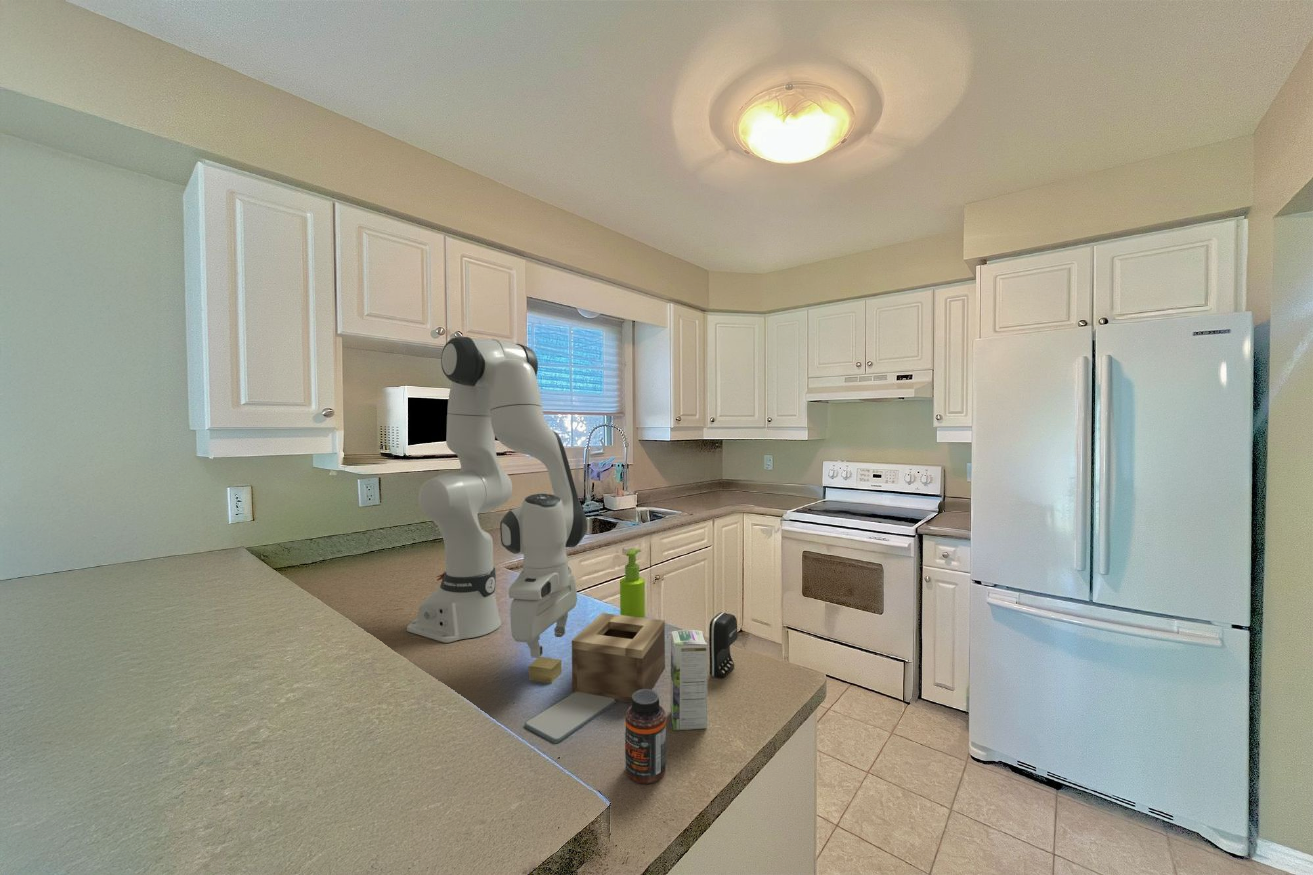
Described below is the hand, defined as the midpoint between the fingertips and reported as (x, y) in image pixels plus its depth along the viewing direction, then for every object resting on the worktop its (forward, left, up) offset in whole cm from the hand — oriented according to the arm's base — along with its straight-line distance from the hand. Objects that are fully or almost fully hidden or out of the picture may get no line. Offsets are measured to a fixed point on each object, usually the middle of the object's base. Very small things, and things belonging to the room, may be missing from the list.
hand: (548, 645), depth 101 cm
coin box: (+14, +3, -6) cm, 16 cm away
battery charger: (+33, +12, -7) cm, 36 cm away
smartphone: (+10, -10, -7) cm, 16 cm away
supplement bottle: (+27, -20, -7) cm, 34 cm away
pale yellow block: (-1, 0, -7) cm, 7 cm away
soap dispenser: (+9, +24, -7) cm, 27 cm away
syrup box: (+30, -6, -7) cm, 31 cm away
